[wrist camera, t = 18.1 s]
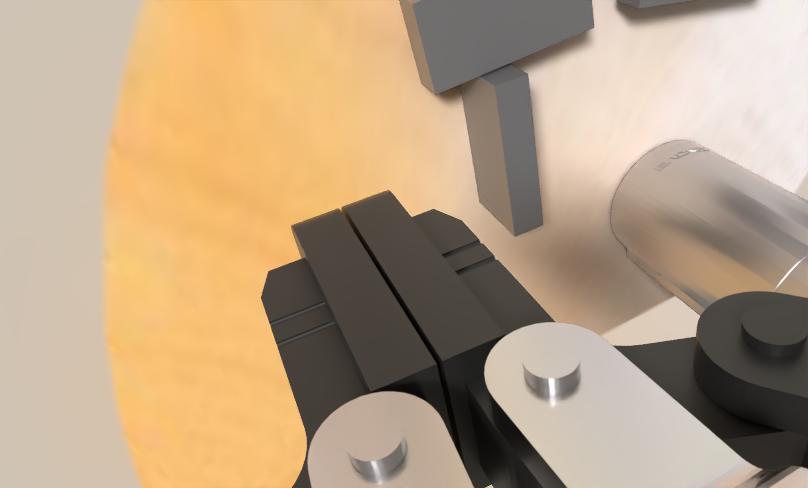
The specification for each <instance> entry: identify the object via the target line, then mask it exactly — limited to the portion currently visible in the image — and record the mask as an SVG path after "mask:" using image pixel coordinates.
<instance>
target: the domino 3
mask: <svg viewBox="0 0 808 488" xmlns="http://www.w3.org/2000/svg"><path fill="white" fill-rule="evenodd" d="M617 1H619V2H622V3H624V4H627V5H630V6H633V7H636V8H645V7H652V6H659V5H665V4H672V3H679V2H685V1H692V0H617Z"/></svg>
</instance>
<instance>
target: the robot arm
mask: <svg viewBox="0 0 808 488" xmlns="http://www.w3.org/2000/svg"><path fill="white" fill-rule="evenodd" d="M341 210H342V212H341ZM341 210H340V209H335V210H333V211H330V212H327V213H324V214H322V215H319V216H316V217H313V218H311V219H308V220H305V221H303V222H300V223H297V224H294V225H292V226H291V228H292V232H293V235H294V238H295V241H296V244H297V247H298V250H299V252H300V255H301V258H302V259H300V260H297V261H295V262H292V263H289V264H287V265H284V266H281V267H279V268H276V269H273V270H271V271H268V275H267V278H266V282H265V285H264V289H263V292H262V296H261V299H262V302H263V305H264V308H265V311H266V314H267V317H268V320H269V323H270V325H271V329H272V332H273V335H274V338H275V341H276V344H277V346H278V350H279V353H280V356H281V359H282V362H283V365H284V368H285V371H286V374H287V377H288V380H289V383H290V386H291V389H292V392H293V395H294V398H295V401H296V404H297V407H298V410H299V413H300V416H301V419H302V422H303V425H304V427H305V432H306V436H307V451H306V458H305V461H304V464H303V467H302V470H301V472H300V474H299V476H298V478H297V480H296V482H295V484H294V485H293V487H292V488H485V487H487V486H489V485H491V484H492V486H493V487H494V488H808V201H807V200H805V199H803V198H801V197H800V196H798V195H796V194H794V193H792V192H790V191H788V190H786V189H784V188H782V187H780V186H778V185H776V184H774V183H773V182H771V181H769V180H767V179H765V178H763V177H761V176H759V175H757V174H755V173H753V172H751V171H749V170H748V169H746V168H744V167H742V166H740V165H738V164H736V163H734V162H732V161H730V160H728V159H727V158H725V157H723V156H721V155H719V154H717V153H715V152H713V151H711V150H709V149H707V148H705V147H703V146H702V145H700V144H698V143H696V142H692V141H688V140H675V141H672V142H668V143H664V144H662V145H660V146H658V147H656V148H654V149H653V150H651V151H650V152H648V153H647V154H646V155H644V156H643V157H642V158H641V159H640V160H639V161H638V162H637V163H636V164H635V165H634V166H633V167H632V168H631V169H630V170H629V172H628V173H627V174H626V176H625V177H624V178H623V180H622V182H621V184H620V186H619V187H618V189H617V192H616V194H615V197H614V200H613V204H612V209H611V225H612V229H613V232H614V234H615V236H616V237H617V239H618V240H619V241H620V242H621V243H622V244H624V245H625V246H626V248H627V257H628V258H629V259H631V260H632V261H633V262H634V263H636V264H637V265H638V266H639V267H641V268H642V269H643V270H644V271H645V272H647V273H648V274H649V275H650V276H652V277H653V278H654V279H655V280H657V281H658V282H659V283H660V284H662V285H663V286H664V287H665V288H667V289H668V290H669V291H670V292H671V293H673V294H674V295H675V296H676V297H678V298H679V299H680V300H681V301H683V302H684V303H685V304H686V305H688V306H689V307H690V308H691V309H693V310H694V311H695V312H696V313H697V314H699V315H700V318H699V321H698V325H697V333H696V337H692V338H684V339H677V340H671V341H664V342H657V343H650V344H643V345H634V346H613V345H611V344H610V343H609V342H608V341H606V340H605V339H604V338H602V337H601V336H600V335H598V334H597V333H595V332H593V331H591V330H589V329H586V328H583V327H581V326H578V325H573V324H569V323H560V322H555V321H554V320H553V319H552V318H551V317H550V316H549V315H548V313H547V312H546V311H545V310H544V309H543V308H542V307H541V306H540V305H539V304H538V303H537V302H536V300H535V299H534V298H533V297H532V296H531V295H530V294H529V293H528V292H527V291H526V290H525V289H524V287H523V286H522V285H521V284H520V283H519V282H518V281H517V280H516V279H515V278H514V277H513V276H512V274H511V273H510V272H509V271H508V270H507V269H506V268H505V267H504V266H503V265H502V264H501V263H500V262H499V260H495V257H494V255H493V254H492V253H491V252H490V251H489V250H488V249H487V247H486V246H485V245H484V244H481V243H480V241H479V239H478V238H477V237H476V236H475V234H474V233H473V232H472V231H471V230H470V229H469V228H468V227H467V226H466V225H465V224H464V223H463V221H462V220H459V219H457V218H454V217H452V216H449V215H447V214H445V213H442V212H440V211H437V210H435V209H432V210H430V211H427V212H424V213H422V214H419V215H416V216H414V217H411V216H410V215H409V214H408V212H407V211H406V210H405V209H404V207H403V206H402V205H401V204H400V202H399V201H398V200H397V199H396V197H395V196H394V195H393V194H392V192H390V191H389V190H387V191H384V192H381V193H379V194H376V195H373V196H371V197H368V198H365V199H362V200H360V201H357V202H354V203H351V204H349V205H346V206H343V207H342V209H341Z"/></svg>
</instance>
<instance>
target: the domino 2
mask: <svg viewBox="0 0 808 488" xmlns="http://www.w3.org/2000/svg"><path fill="white" fill-rule="evenodd" d="M460 87H461V93H462V99H463V105H464V111H465V117H466V123H467V129H468V135H469V141H470V147H471V153H472V159H473V165H474V172H475V178H476V184H477V190H478V196H479V202H480V203H481V204H482V205H483V206H484V207H485V208H486V209H487V210H488V211H489V212H490V213H491V214H492V215H493V216H494V217H495V218H496V219H497V220H498V221H499V222H500V223H501V224H503V225H504V226H505V227H506V228H507V229H508V230H509V231H510V232H511V233H512V234H513V235H514V236H518V235H520V234H523V233H525V232H527V231H530V230H532V229H535V228H537V227H540V226H542V225H543V217H542V207H541V197H540V188H539V178H538V168H537V158H536V148H535V138H534V128H533V118H532V108H531V98H530V88H529V78H528V74H527V73H525V72H524V71H522V70H520V69H518V68H516V67H515V66H513V65H511V64H507V65H505V66H502V67H500V68H498V69H495V70H493V71H490V72H488V73H486V74H483V75H481V76H479V77H476V78H474V79H472V80H469V81H467V82H465V83H462V84H460Z"/></svg>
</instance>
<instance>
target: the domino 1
mask: <svg viewBox="0 0 808 488" xmlns="http://www.w3.org/2000/svg"><path fill="white" fill-rule="evenodd" d="M399 1H400V5H401V9H402V13H403V16H404V20H405V24H406V28H407V31H408V35H409V39H410V43H411V46H412V50H413V54H414V58H415V61H416V65H417V69H418V73H419V76H420V80H421V84H422V85H423V86H425V87H426V88H427V89H428V90H430V91H431V92H432V93H434V94H435V95H436V94H439V93H441V92H443V91H446V90H448V89H451V88H453V87H455V86H458V85H460V84H462V83H465V82H467V81H469V80H472V79H474V78H476V77H479V76H481V75H483V74H486V73H488V72H490V71H493V70H495V69H498V68H500V67H502V66H505V65H507V64H509V63H512V62H514V61H516V60H519V59H521V58H523V57H526V56H528V55H530V54H533V53H535V52H537V51H540V50H542V49H545V48H547V47H549V46H552V45H554V44H556V43H559V42H561V41H563V40H566V39H568V38H570V37H573V36H575V35H577V34H580V33H582V32H585V31H587V30H589V29H592V28H594V19H593V8H592V0H399Z"/></svg>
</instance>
